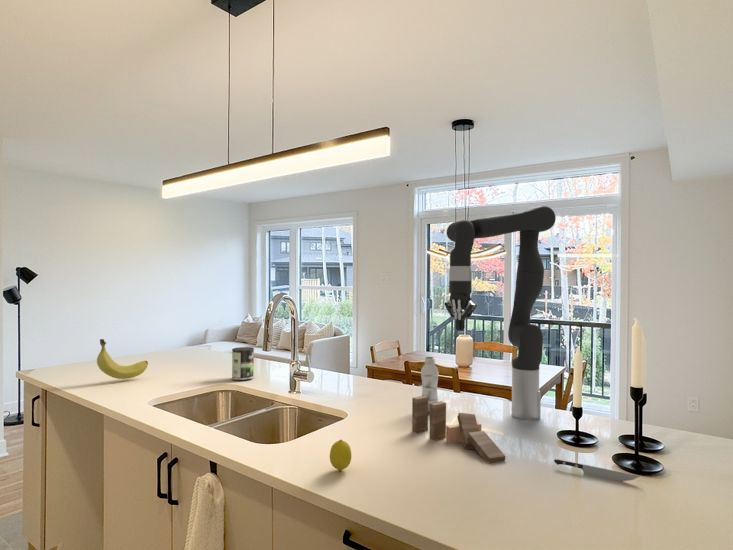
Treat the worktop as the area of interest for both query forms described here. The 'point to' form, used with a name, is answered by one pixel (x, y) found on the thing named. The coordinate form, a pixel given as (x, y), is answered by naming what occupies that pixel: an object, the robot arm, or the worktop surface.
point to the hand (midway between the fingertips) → (460, 330)
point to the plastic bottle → (429, 380)
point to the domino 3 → (455, 433)
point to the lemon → (340, 455)
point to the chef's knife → (600, 471)
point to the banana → (118, 366)
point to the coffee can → (242, 363)
